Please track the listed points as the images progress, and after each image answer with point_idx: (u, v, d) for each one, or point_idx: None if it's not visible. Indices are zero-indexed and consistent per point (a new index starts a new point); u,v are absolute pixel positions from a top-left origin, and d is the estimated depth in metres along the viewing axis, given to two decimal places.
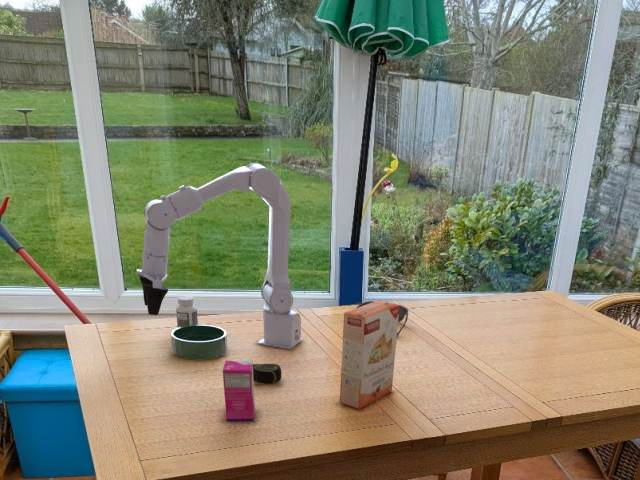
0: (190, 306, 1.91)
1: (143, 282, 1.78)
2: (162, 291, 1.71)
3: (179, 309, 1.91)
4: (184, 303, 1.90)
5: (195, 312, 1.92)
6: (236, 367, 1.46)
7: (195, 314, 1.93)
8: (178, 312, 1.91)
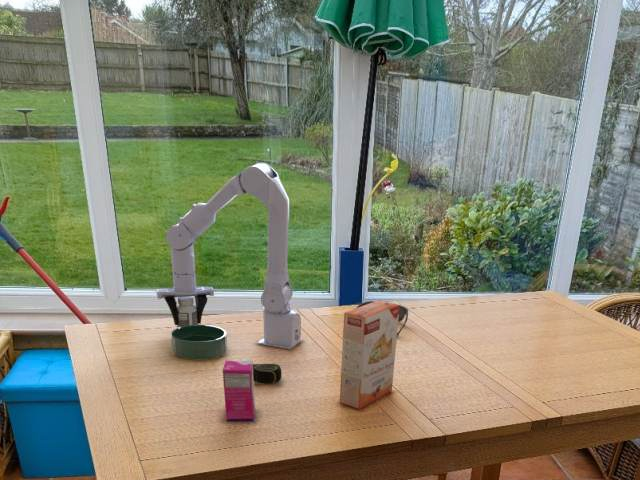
0: (190, 306, 1.91)
1: (195, 300, 1.94)
2: None
3: (179, 309, 1.91)
4: (184, 303, 1.90)
5: (195, 312, 1.92)
6: (236, 367, 1.46)
7: (195, 314, 1.93)
8: (178, 312, 1.91)
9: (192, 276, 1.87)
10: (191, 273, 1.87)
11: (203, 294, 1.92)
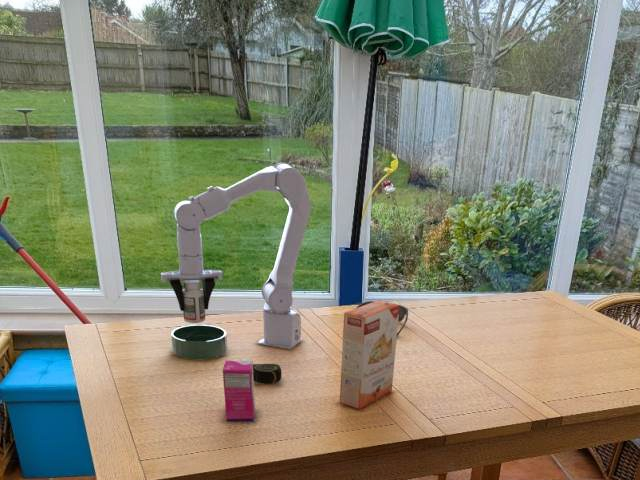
0: (197, 290, 1.80)
1: (202, 284, 1.83)
2: (172, 286, 1.77)
3: (185, 293, 1.79)
4: (190, 287, 1.78)
5: (202, 297, 1.81)
6: (236, 367, 1.46)
7: (202, 299, 1.81)
8: (184, 297, 1.79)
9: (199, 258, 1.76)
10: (201, 254, 1.76)
11: (211, 278, 1.81)
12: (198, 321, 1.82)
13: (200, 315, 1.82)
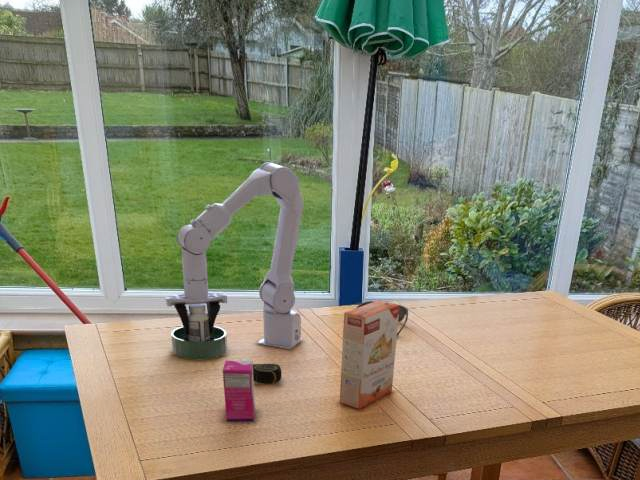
0: (202, 314, 1.79)
1: (207, 307, 1.82)
2: (177, 310, 1.76)
3: (190, 317, 1.78)
4: (195, 311, 1.77)
5: (207, 320, 1.80)
6: (236, 367, 1.46)
7: (207, 323, 1.80)
8: (189, 320, 1.78)
9: (204, 282, 1.75)
10: None
11: (216, 301, 1.80)
12: None
13: (205, 339, 1.81)
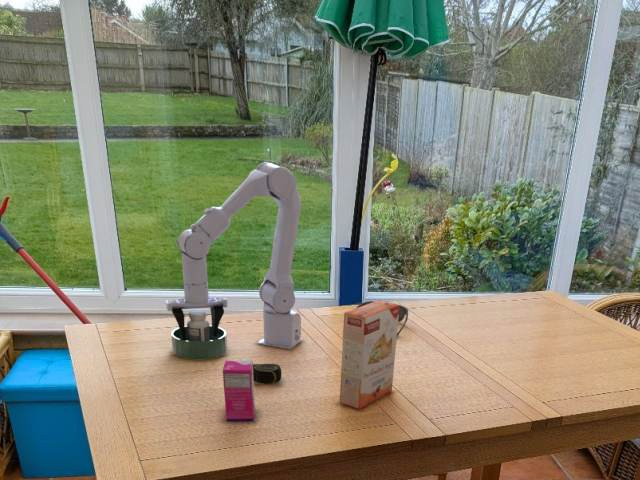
0: (202, 321, 1.79)
1: (211, 311, 1.83)
2: (173, 314, 1.76)
3: (190, 324, 1.79)
4: (195, 318, 1.78)
5: (207, 327, 1.81)
6: (236, 367, 1.46)
7: (207, 330, 1.81)
8: (189, 328, 1.79)
9: (204, 286, 1.75)
10: (207, 282, 1.76)
11: (219, 305, 1.80)
12: None
13: None
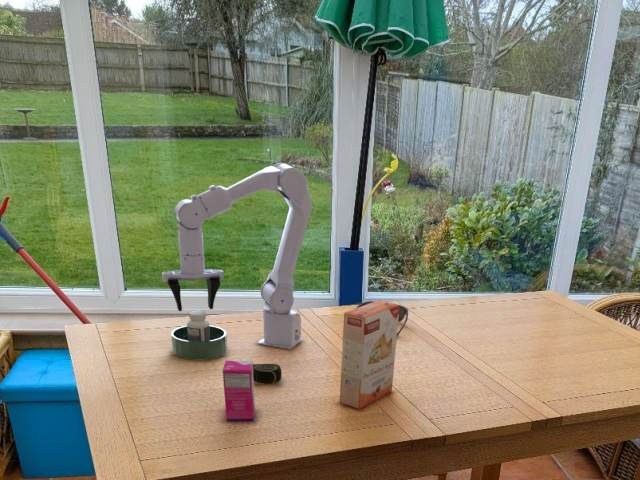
0: (202, 321, 1.79)
1: (207, 284, 1.82)
2: (169, 286, 1.75)
3: (190, 324, 1.79)
4: (195, 318, 1.78)
5: (207, 327, 1.81)
6: (236, 367, 1.46)
7: (207, 330, 1.81)
8: (189, 328, 1.79)
9: (200, 257, 1.74)
10: (203, 253, 1.75)
11: (216, 277, 1.79)
12: None
13: None
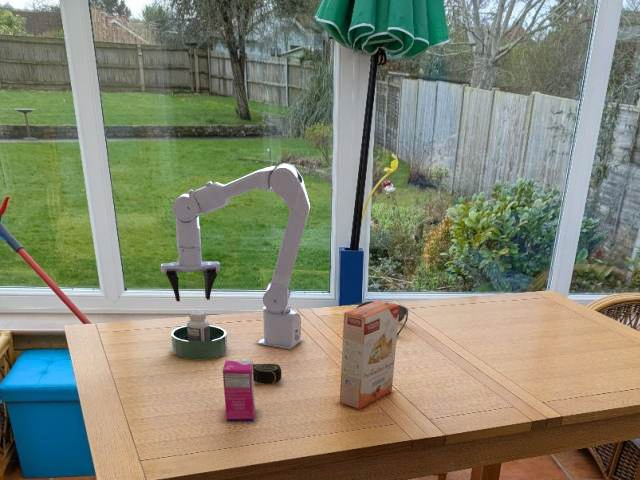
0: (202, 321, 1.79)
1: (204, 275, 1.88)
2: (168, 277, 1.82)
3: (190, 324, 1.79)
4: (195, 318, 1.78)
5: (207, 327, 1.81)
6: (236, 367, 1.46)
7: (207, 330, 1.81)
8: (189, 328, 1.79)
9: (198, 250, 1.81)
10: (198, 246, 1.81)
11: (212, 269, 1.86)
12: None
13: None
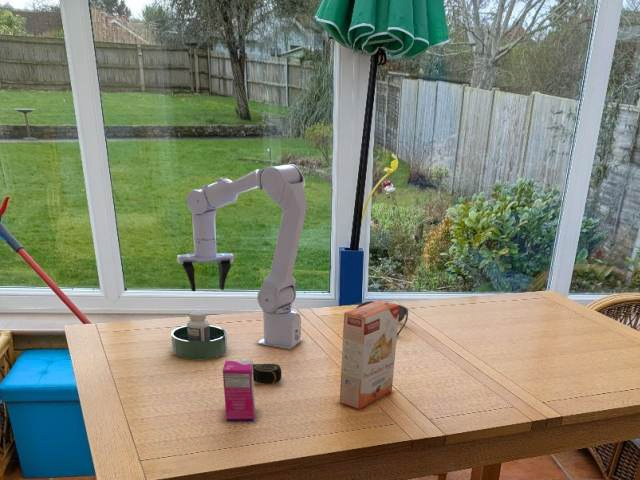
0: (202, 321, 1.79)
1: (218, 266, 1.97)
2: (184, 267, 1.91)
3: (190, 324, 1.79)
4: (195, 318, 1.78)
5: (207, 327, 1.81)
6: (236, 367, 1.46)
7: (207, 330, 1.81)
8: (189, 328, 1.79)
9: (213, 242, 1.90)
10: (209, 239, 1.89)
11: (226, 260, 1.95)
12: None
13: None
